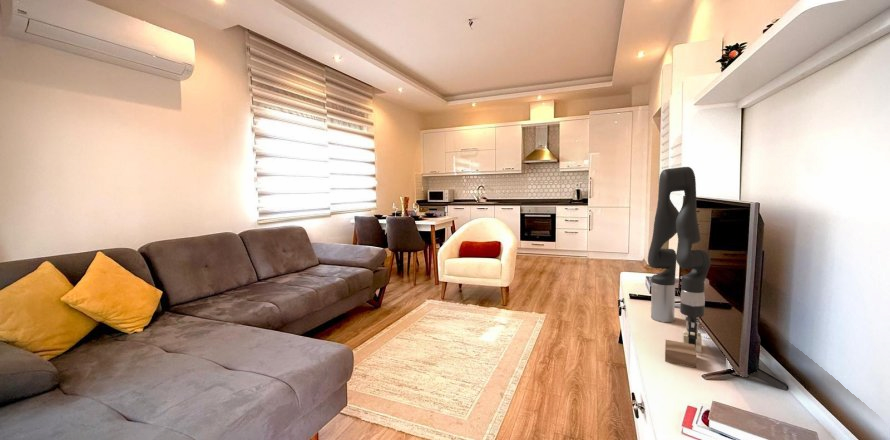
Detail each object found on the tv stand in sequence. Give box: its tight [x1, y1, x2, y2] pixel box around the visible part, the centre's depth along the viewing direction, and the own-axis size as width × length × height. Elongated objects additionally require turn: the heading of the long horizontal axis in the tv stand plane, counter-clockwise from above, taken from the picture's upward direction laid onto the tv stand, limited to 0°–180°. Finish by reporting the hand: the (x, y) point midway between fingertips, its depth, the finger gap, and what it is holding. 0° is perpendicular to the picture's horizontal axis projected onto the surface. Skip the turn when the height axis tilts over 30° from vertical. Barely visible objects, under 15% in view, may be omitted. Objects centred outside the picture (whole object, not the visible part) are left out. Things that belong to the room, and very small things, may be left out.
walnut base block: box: [664, 339, 697, 368], centre depth 124 cm, size 9×9×4 cm
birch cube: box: [682, 330, 703, 353], centre depth 132 cm, size 6×6×6 cm
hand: (691, 343), depth 132 cm, fingers open, 8 cm apart
